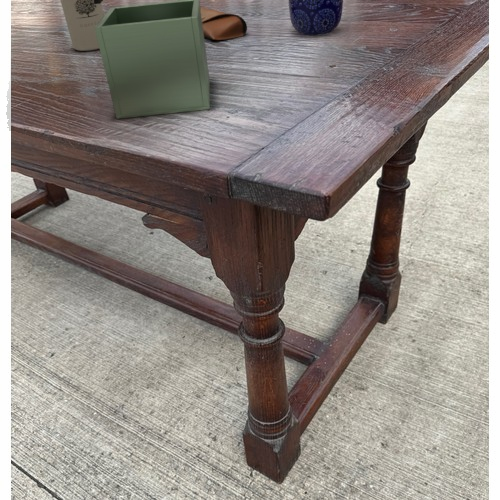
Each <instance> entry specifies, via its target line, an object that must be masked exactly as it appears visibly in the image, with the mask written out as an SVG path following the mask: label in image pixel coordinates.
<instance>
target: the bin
mask: <svg viewBox="0 0 500 500" xmlns="http://www.w3.org/2000/svg"><path fill="white" fill-rule="evenodd" d="M200 6H201V2H200V0H174V1H164V2H154V3H143V4H135V5H125V6H114V7H110V8H109V9H108V11H107V12H106V13H104V17H103V18H102V19H101V21H100V22H99V23H98V24H97V26H96V27H95V32H96V36H97V41H98V45H99V49H98V50H99V53H100V56H101V61H102V64H103V69H104V72H105V77H106V81H107V85H108V90H109V93H110V96H111V101H112V105H113V109H114V113H115V117H116V119H117V120H120V119H129V118H140V117H148V116H157V115H158V116H159V115H167V114H168V115H169V114H176V113H178V114H179V113H186V112H188V113H189V112H197V111H206V110H210V107H211V106H210V105H211V103H210V98H211V97H210V93H211V92H210V89H211V88H210V87H211V84H210V83H211V81H210V73H209V63H208V57H207V48H206V42H205V41H206V40H205V38H204V33H203V25H202V17H201V7H200Z"/></svg>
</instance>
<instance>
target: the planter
mask: <svg viewBox="0 0 500 500" xmlns="http://www.w3.org/2000/svg"><path fill="white" fill-rule="evenodd" d="M343 8H344V0H288V9H289V10H288V11H289V19H290V23H291V25H292V27H293V29H294V30H295V31H296V32H297V33H299V34H301V35H304V36H322V35H327V34H330V33H332V32H334V31H335V30H336V29H337V27H338V26H339V24H340V23H341V19H342V16H343Z"/></svg>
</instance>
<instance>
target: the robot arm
mask: <svg viewBox="0 0 500 500" xmlns="http://www.w3.org/2000/svg"><path fill="white" fill-rule="evenodd" d="M102 2H104V0H94V3H95V4H100V3H101V4H102Z"/></svg>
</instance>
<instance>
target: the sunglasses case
mask: <svg viewBox="0 0 500 500" xmlns="http://www.w3.org/2000/svg"><path fill="white" fill-rule="evenodd" d="M200 9H201V17H202V25H203V33H204V39H207V40H214V41H223V40H224V41H226V40H231V39H236V38H241V37H244V36H245V35H246V33H247V31H248V25H247V22H246V21H245V19H244V18H242V16H240V15H238V14H235V13H226V12H223V11H220V10H215V9H210V8H206V7H203V6H202V5H200Z"/></svg>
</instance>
